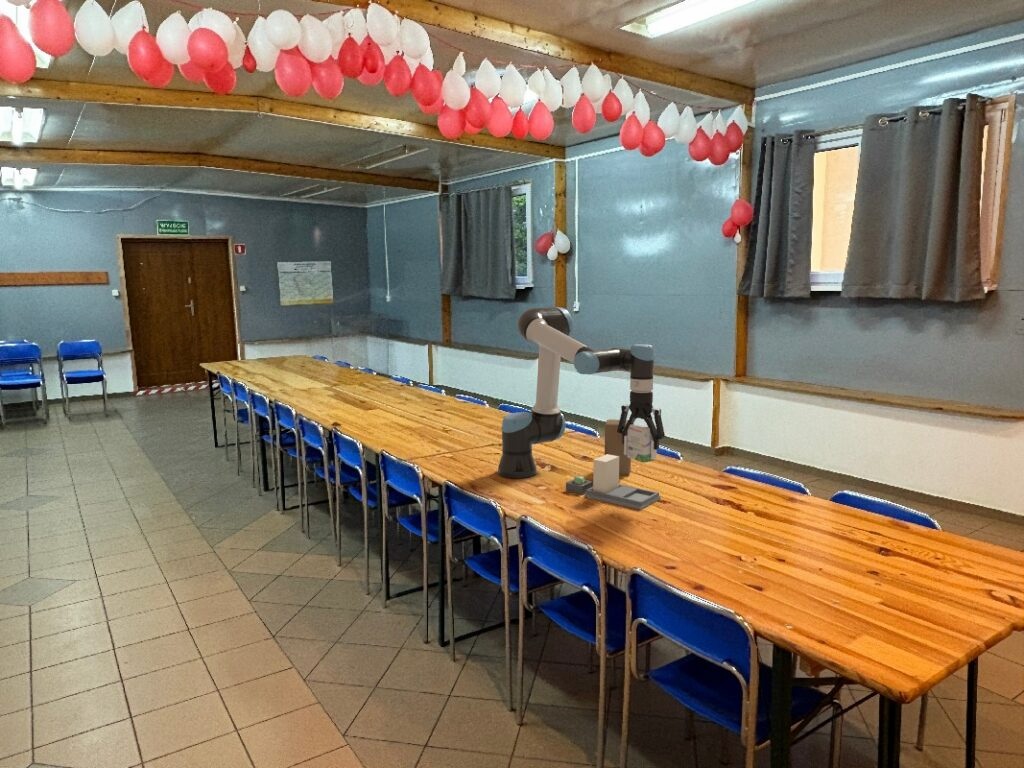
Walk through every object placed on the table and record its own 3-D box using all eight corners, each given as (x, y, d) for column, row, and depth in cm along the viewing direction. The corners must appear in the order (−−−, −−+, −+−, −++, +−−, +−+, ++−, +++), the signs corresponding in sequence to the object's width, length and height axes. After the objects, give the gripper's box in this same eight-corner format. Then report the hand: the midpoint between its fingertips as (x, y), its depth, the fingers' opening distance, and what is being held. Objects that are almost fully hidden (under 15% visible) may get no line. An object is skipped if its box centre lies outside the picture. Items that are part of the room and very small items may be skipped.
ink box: (654, 461, 226) (655, 426, 224) (643, 463, 223) (643, 428, 221) (637, 455, 233) (638, 422, 231) (626, 457, 230) (626, 423, 228)
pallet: (584, 496, 236) (584, 490, 236) (605, 486, 247) (605, 480, 246) (640, 509, 222) (641, 502, 222) (660, 498, 233) (660, 492, 233)
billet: (593, 492, 236) (593, 459, 234) (606, 486, 243) (607, 454, 241) (605, 495, 233) (606, 462, 231) (618, 489, 240) (619, 456, 238)
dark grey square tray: (565, 490, 243) (565, 482, 242) (576, 485, 248) (576, 478, 248) (582, 494, 238) (582, 486, 238) (592, 489, 244) (592, 481, 243)
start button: (572, 488, 243) (572, 477, 242) (577, 485, 246) (577, 475, 245) (580, 490, 241) (580, 479, 240) (586, 487, 243) (586, 477, 243)
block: (630, 475, 260) (631, 425, 257) (604, 474, 262) (604, 424, 259) (630, 468, 270) (631, 419, 267) (605, 467, 272) (606, 418, 269)
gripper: (606, 389, 228) (606, 453, 232) (666, 395, 215) (664, 464, 218) (618, 386, 234) (617, 449, 238) (677, 392, 220) (675, 459, 224)
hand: (640, 456), depth 228 cm, fingers closed on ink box, 9 cm apart
